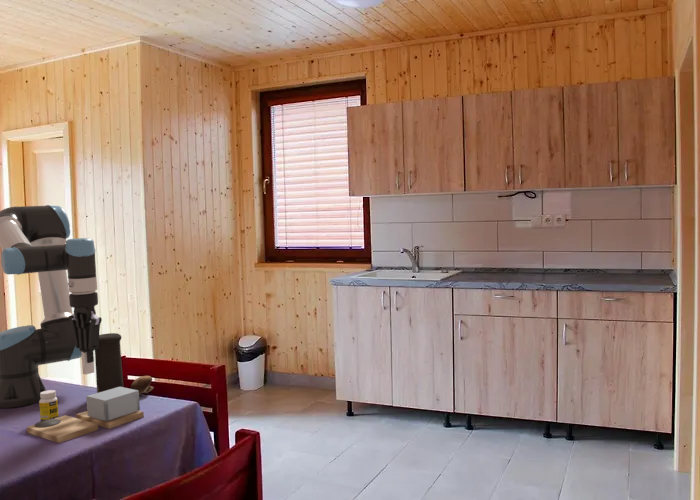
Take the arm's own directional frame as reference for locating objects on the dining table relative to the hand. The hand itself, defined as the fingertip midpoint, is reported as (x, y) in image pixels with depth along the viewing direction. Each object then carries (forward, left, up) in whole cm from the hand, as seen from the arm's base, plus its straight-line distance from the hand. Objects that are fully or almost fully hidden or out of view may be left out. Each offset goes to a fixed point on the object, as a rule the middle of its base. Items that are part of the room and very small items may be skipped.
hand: (88, 373), depth 182 cm
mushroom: (-5, +21, -13) cm, 25 cm away
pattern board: (+8, +1, -12) cm, 15 cm away
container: (-13, +15, -13) cm, 24 cm away
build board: (+6, -12, -12) cm, 18 cm away
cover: (+10, +1, -11) cm, 14 cm away
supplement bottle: (-6, -9, -13) cm, 17 cm away
